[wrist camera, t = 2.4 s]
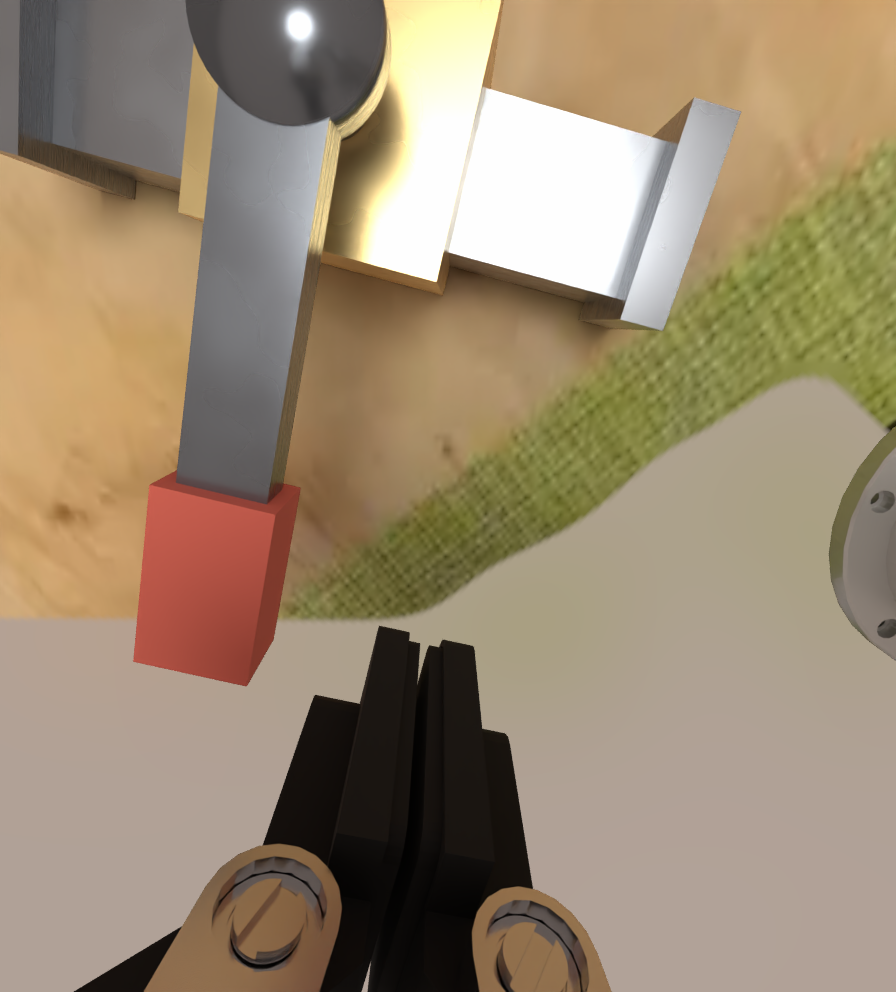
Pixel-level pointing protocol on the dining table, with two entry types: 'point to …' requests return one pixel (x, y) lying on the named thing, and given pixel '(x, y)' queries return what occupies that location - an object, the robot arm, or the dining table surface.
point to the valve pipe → (385, 153)
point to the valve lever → (252, 321)
